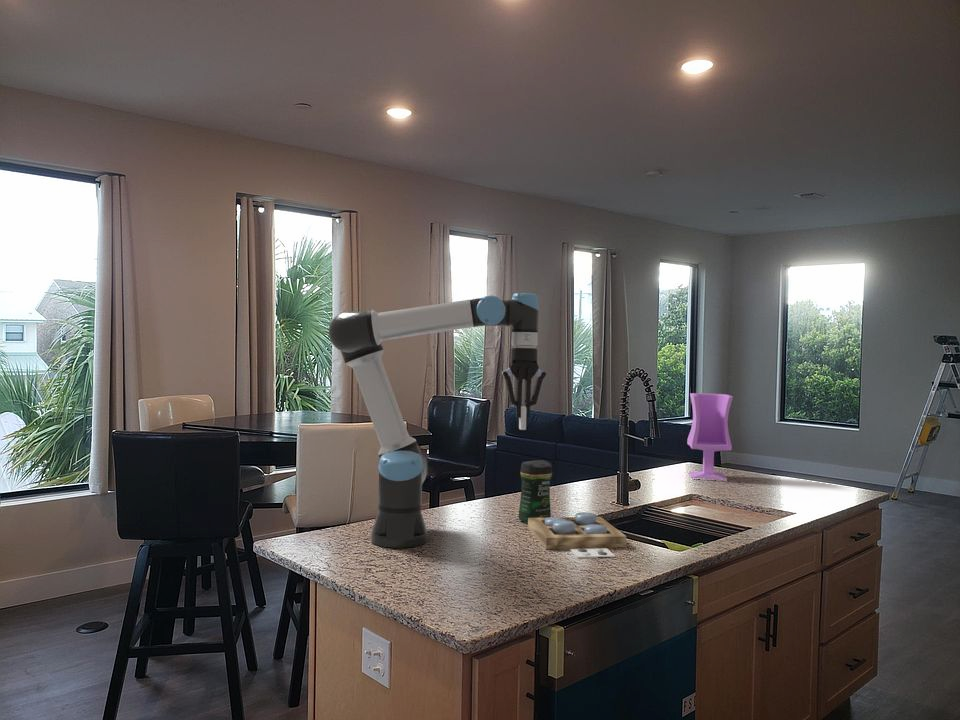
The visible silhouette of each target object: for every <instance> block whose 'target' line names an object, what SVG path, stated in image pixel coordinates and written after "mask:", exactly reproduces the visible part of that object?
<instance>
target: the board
mask: <svg viewBox="0 0 960 720" xmlns="http://www.w3.org/2000/svg"><path fill="white" fill-rule="evenodd" d="M559 518H564V519H566V521H571V522H574V523H575V516H570V517H569V516H564V517H563V516H562V517H559ZM596 525H603V526H605V527H607V533H606V534H586V533H585V532H584V530H585V526H581V525H577V524H575V533H574V534H565V535H559V534H555V533H553V526H546V525H545V518H528V523H527V529H528V531H530V532H531V534H532V535H533V536H534V537H535V538H536V540H537V541H539V543H540V544H541V545H542V546H543V547H544V549H545V550H567V549H568V550H570V549H587V548H607V549H618V548H617V547H626V548H627V535H625V534H624V533H622V532H621V531H620V530H618V528H616V527H615V526H614V525H612V524H611V523H609V522H608V521H606V520H605V519H604V518H602V517H601V516H596Z"/></svg>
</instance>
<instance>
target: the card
mask: <svg viewBox="0 0 960 720" xmlns="http://www.w3.org/2000/svg"><path fill="white" fill-rule="evenodd" d="M569 551H570V552H571V553H572V554H573V555H574V556H575V558H577V559H599V558H598V557H610V558H616V554H614V553H613V552H611V550H610V549H609V548H581V549H569Z"/></svg>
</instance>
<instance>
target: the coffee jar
mask: <svg viewBox="0 0 960 720" xmlns="http://www.w3.org/2000/svg"><path fill="white" fill-rule="evenodd" d="M552 476H553V466H552V463H551V461H548V460H542V459H539V460H538V459H537V460H528V461H523V462H522V463H521V465H520V478H521V490H520V491H521V492H520V499H519V501H520V502H519V508H518V520H520V521H521V522H522V523H524V524H528V518H548V517H552V516H551V495H550V494H551V491H550V490H551V489H550V486H551V485H550V484H551V478H552Z"/></svg>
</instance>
